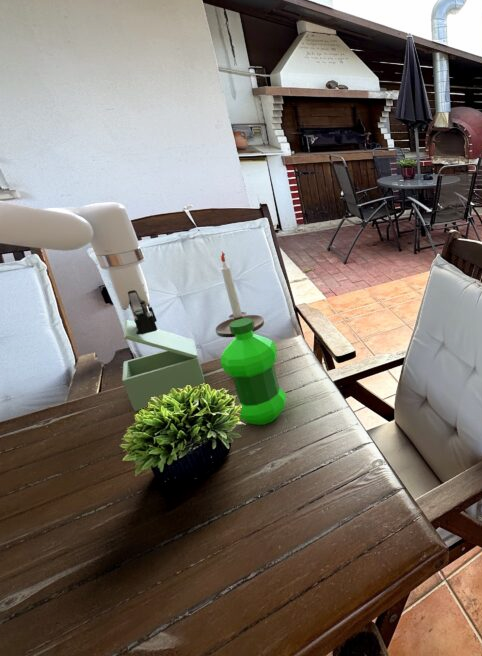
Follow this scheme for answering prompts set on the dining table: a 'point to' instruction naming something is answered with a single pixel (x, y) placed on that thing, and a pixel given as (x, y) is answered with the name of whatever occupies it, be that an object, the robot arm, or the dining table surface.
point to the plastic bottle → (253, 373)
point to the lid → (161, 340)
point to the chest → (159, 375)
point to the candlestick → (234, 305)
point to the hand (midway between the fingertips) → (148, 327)
